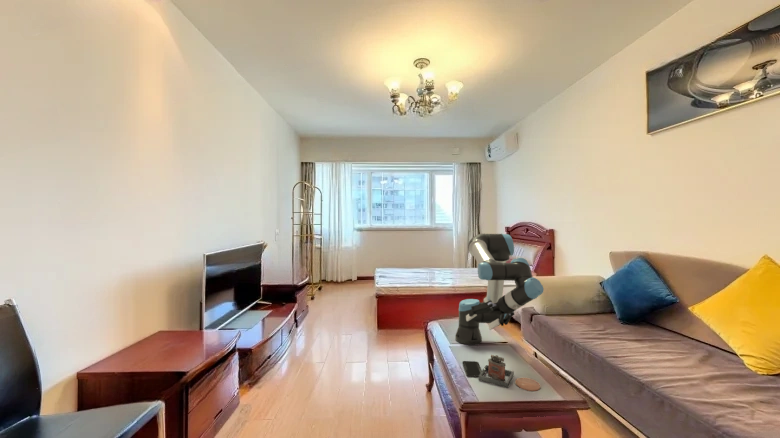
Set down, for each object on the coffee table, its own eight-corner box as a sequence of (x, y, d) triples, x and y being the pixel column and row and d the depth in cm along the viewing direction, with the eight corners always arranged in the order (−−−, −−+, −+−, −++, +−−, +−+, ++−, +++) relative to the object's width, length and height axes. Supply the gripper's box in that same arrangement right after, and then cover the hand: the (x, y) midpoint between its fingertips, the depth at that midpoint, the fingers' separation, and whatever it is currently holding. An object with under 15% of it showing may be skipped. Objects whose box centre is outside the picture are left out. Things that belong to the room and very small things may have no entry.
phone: (478, 361, 166) (484, 376, 151) (478, 363, 166) (484, 378, 151) (461, 360, 166) (466, 375, 151) (461, 363, 166) (466, 377, 151)
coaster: (517, 377, 152) (517, 375, 152) (541, 383, 146) (541, 381, 146) (513, 386, 143) (513, 385, 143) (538, 393, 138) (538, 391, 138)
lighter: (486, 376, 152) (486, 354, 152) (490, 373, 155) (490, 352, 154) (503, 382, 146) (503, 360, 146) (506, 380, 149) (507, 357, 149)
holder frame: (486, 369, 159) (486, 364, 159) (513, 376, 153) (513, 371, 153) (478, 380, 148) (478, 375, 148) (508, 388, 142) (508, 383, 142)
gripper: (489, 300, 137) (457, 322, 151) (534, 318, 145) (500, 337, 158) (486, 285, 143) (456, 307, 156) (529, 303, 150) (497, 323, 164)
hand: (478, 322), depth 157 cm, fingers open, 13 cm apart
